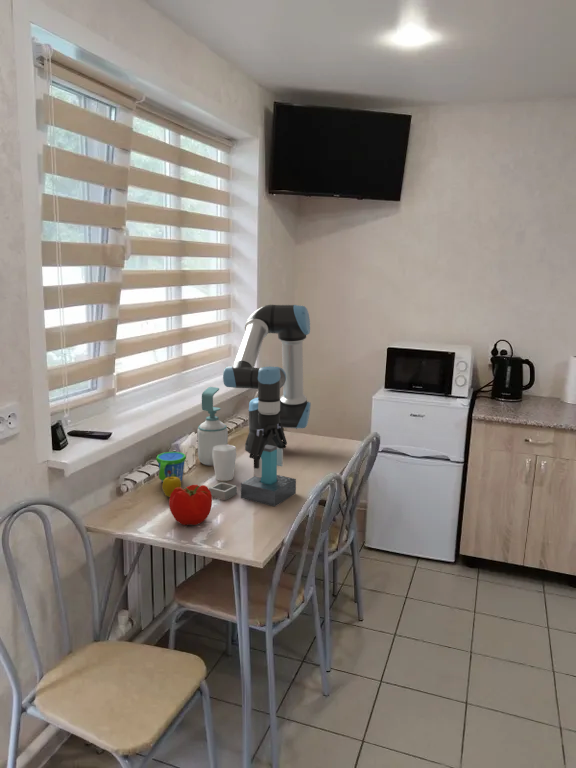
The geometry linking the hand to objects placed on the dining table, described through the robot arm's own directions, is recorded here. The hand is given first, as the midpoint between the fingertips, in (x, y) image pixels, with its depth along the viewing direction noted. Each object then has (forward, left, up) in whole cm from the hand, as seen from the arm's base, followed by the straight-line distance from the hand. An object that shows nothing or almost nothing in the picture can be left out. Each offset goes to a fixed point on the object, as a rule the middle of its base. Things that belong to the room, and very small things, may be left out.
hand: (268, 471), depth 212 cm
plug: (0, 0, -8) cm, 8 cm away
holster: (+8, -14, -9) cm, 19 cm away
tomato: (+31, -9, -10) cm, 34 cm away
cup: (-6, -24, -9) cm, 26 cm away
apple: (+19, -28, -9) cm, 35 cm away
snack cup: (+8, -38, -9) cm, 40 cm away
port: (0, 0, -9) cm, 9 cm away
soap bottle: (-18, -39, -9) cm, 44 cm away
